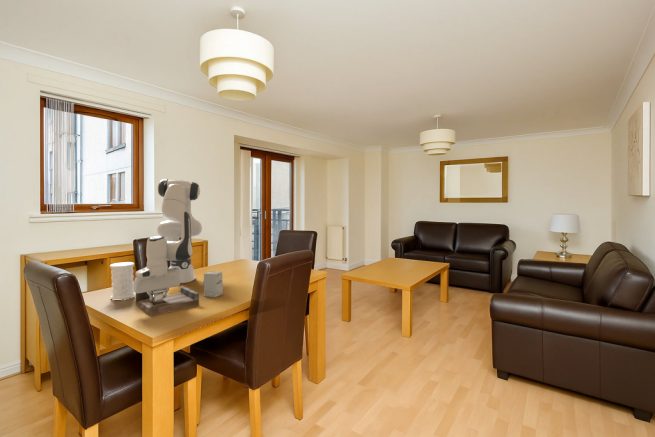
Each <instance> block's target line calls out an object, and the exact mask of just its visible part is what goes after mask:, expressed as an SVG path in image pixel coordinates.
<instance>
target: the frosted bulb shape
mask: <svg viewBox="0 0 655 437" xmlns="http://www.w3.org/2000/svg"><path fill="white" fill-rule="evenodd" d="M164 292H165V289H160V290H155V291H151V293H153V296H154V300H153V305H156V304H161V303H164V297H163V294H164Z"/></svg>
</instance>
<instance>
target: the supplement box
mask: <svg viewBox="0 0 655 437" xmlns="http://www.w3.org/2000/svg"><path fill="white" fill-rule="evenodd" d="M223 284H224V283H223V271H219V270H218V271H217V270H211V271H208V272H205V273H204V274H203V297H205V298H218V297H219V296H221V295H223V294H224V293H223V290H224V289H223Z"/></svg>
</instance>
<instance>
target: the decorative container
mask: <svg viewBox="0 0 655 437" xmlns="http://www.w3.org/2000/svg"><path fill="white" fill-rule="evenodd" d="M134 266H135V262H132V261H125V262H115V263H112V264H110V265H109V268H110V269H111V272H110V274H111V281H112V283H111V287H112V290H111V293H112V295H110V298H111V299H128V300H130V299H129V298H132V299H134V298H136V297H135V296H136V293H135V292H134V289H133V288H134V279H135V278H134V277H135V276H134V269H133V267H134ZM133 297H134V298H133ZM111 299H110V300H111Z"/></svg>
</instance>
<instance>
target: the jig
mask: <svg viewBox="0 0 655 437" xmlns="http://www.w3.org/2000/svg"><path fill="white" fill-rule="evenodd" d="M179 287H180V292H177V293H172V294H167V297H166V298H164V303H161V304H156V305H153V300H150V299H146V300H141V301H139V303H138V308H139V309H141V310H142V311H143V310H144V312H145V313H146V314H147V313H148V314H147V315H149V316H150V317H154V316H158V315H163V314H166V313H171V312H175V311H176V312H177V311H179V310H184V309H188V308H193V307H197V306H199V305H200V292H197V291H195V290H192V289H191V288H188V287H187V286H179Z"/></svg>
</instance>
